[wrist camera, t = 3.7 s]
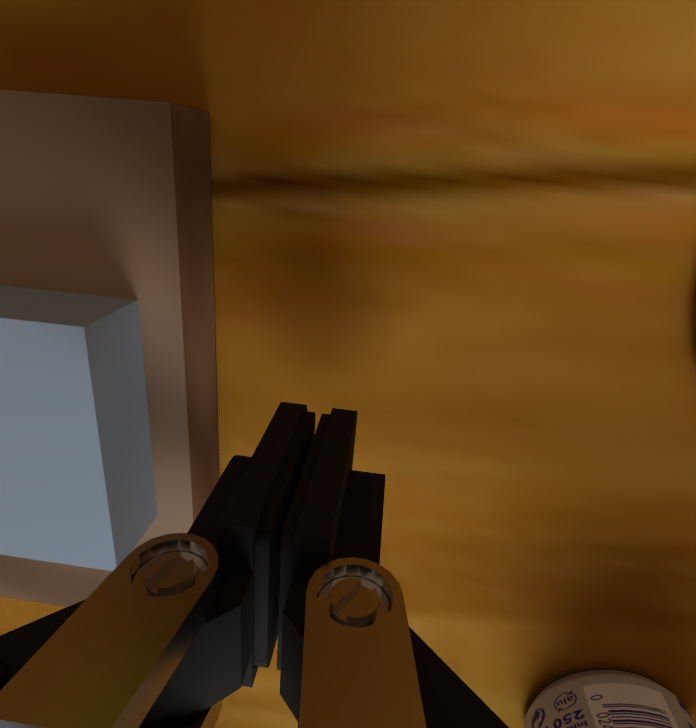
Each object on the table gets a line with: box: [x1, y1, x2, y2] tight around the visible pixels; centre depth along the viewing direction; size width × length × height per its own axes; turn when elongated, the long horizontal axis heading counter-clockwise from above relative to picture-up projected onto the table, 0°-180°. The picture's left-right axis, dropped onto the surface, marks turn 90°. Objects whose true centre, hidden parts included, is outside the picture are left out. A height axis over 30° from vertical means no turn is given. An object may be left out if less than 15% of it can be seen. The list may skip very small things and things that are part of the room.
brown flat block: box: [0, 89, 219, 607], centre depth 13 cm, size 14×10×2 cm
